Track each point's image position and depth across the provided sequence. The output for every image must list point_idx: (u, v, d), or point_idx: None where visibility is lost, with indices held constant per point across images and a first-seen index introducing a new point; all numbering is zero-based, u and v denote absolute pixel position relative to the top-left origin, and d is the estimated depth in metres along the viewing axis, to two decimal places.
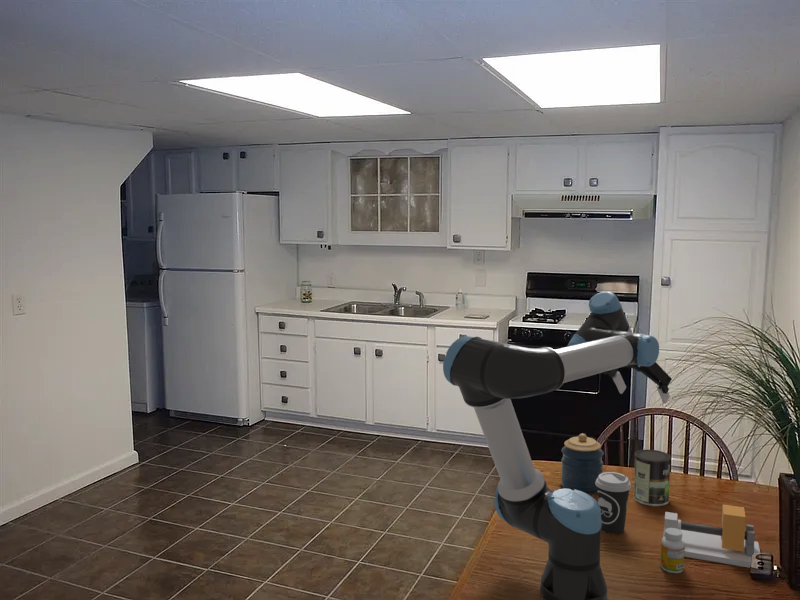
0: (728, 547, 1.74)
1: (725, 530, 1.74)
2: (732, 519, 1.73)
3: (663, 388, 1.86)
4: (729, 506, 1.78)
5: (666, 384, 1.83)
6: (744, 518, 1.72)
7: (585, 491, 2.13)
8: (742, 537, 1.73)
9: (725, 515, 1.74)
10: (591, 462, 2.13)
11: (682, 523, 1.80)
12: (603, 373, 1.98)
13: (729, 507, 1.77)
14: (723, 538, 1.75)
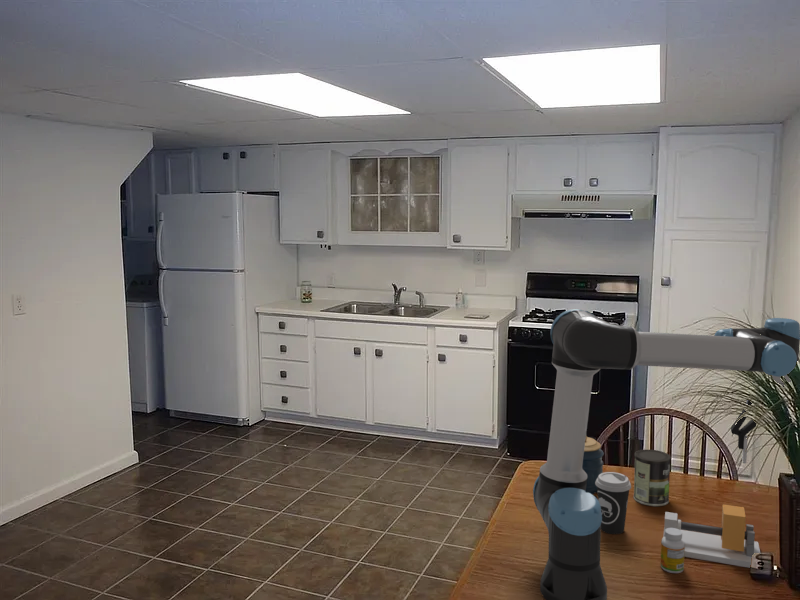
0: (728, 547, 1.74)
1: (725, 530, 1.74)
2: (732, 519, 1.73)
3: None
4: (729, 506, 1.78)
5: None
6: (744, 518, 1.72)
7: None
8: (742, 537, 1.73)
9: (725, 515, 1.74)
10: (591, 462, 2.13)
11: (682, 523, 1.80)
12: (732, 432, 1.72)
13: (729, 507, 1.77)
14: (723, 538, 1.75)
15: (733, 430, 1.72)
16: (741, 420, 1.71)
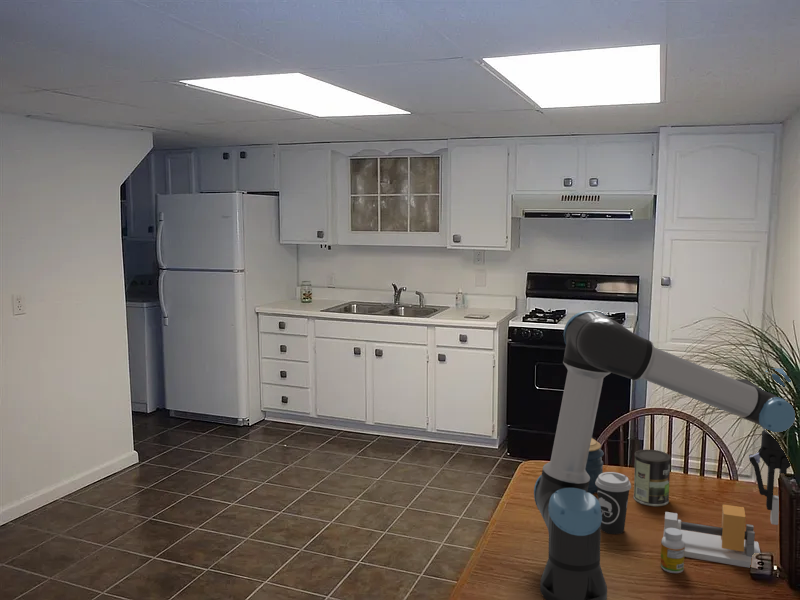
0: (728, 547, 1.74)
1: (725, 530, 1.74)
2: (732, 519, 1.73)
3: None
4: (729, 506, 1.78)
5: None
6: (744, 518, 1.72)
7: None
8: (742, 537, 1.73)
9: (725, 515, 1.74)
10: (591, 462, 2.13)
11: (682, 523, 1.80)
12: (761, 493, 1.71)
13: (729, 507, 1.77)
14: (723, 538, 1.75)
15: (760, 491, 1.71)
16: (759, 479, 1.71)
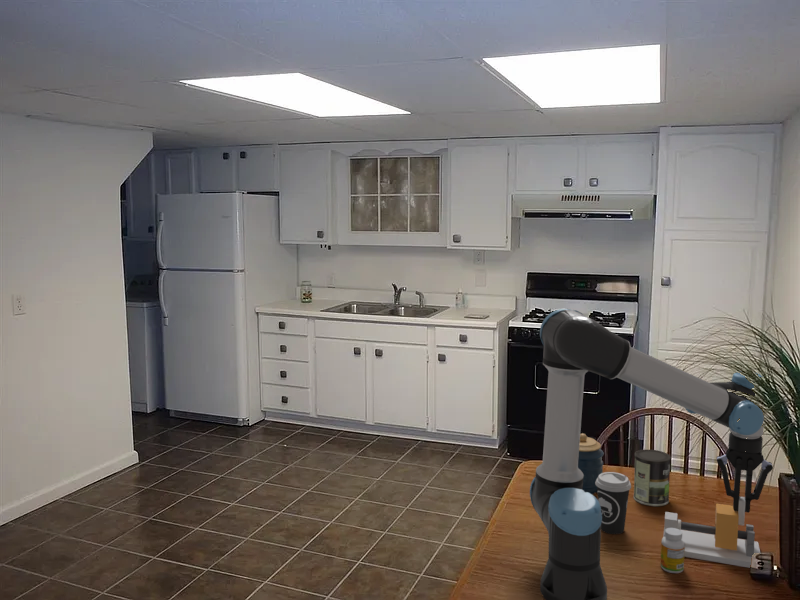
0: (721, 546, 1.75)
1: (718, 529, 1.75)
2: (725, 518, 1.74)
3: (748, 504, 1.73)
4: (722, 505, 1.78)
5: (757, 497, 1.72)
6: (737, 517, 1.73)
7: (585, 491, 2.13)
8: (735, 536, 1.73)
9: (718, 514, 1.74)
10: (591, 462, 2.13)
11: (682, 523, 1.80)
12: (728, 494, 1.74)
13: (723, 506, 1.78)
14: (716, 537, 1.75)
15: (727, 493, 1.74)
16: (726, 480, 1.74)
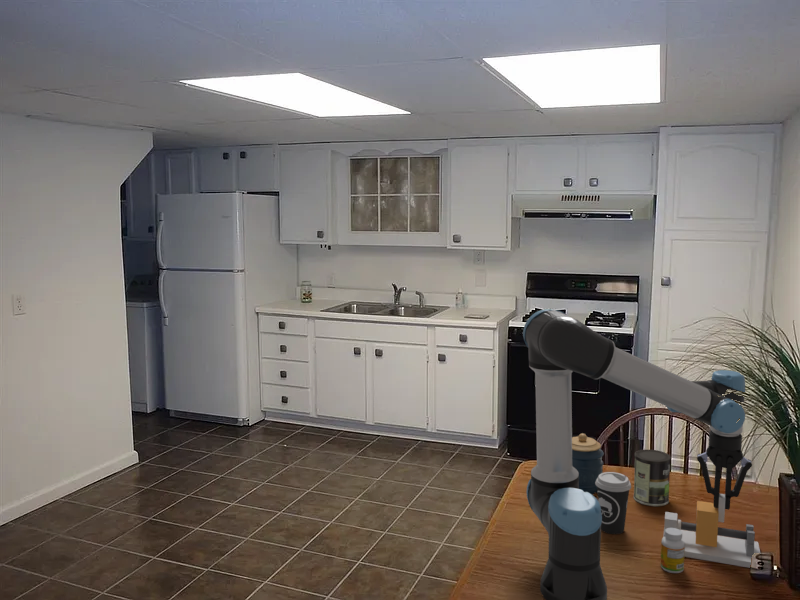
0: (702, 543, 1.77)
1: (698, 526, 1.76)
2: (705, 515, 1.75)
3: (728, 501, 1.75)
4: (703, 502, 1.80)
5: (737, 495, 1.73)
6: (717, 514, 1.74)
7: (585, 491, 2.13)
8: (715, 533, 1.75)
9: (699, 511, 1.76)
10: (591, 462, 2.13)
11: (682, 523, 1.80)
12: (708, 492, 1.76)
13: (703, 503, 1.80)
14: (697, 534, 1.77)
15: (707, 490, 1.76)
16: (706, 478, 1.76)
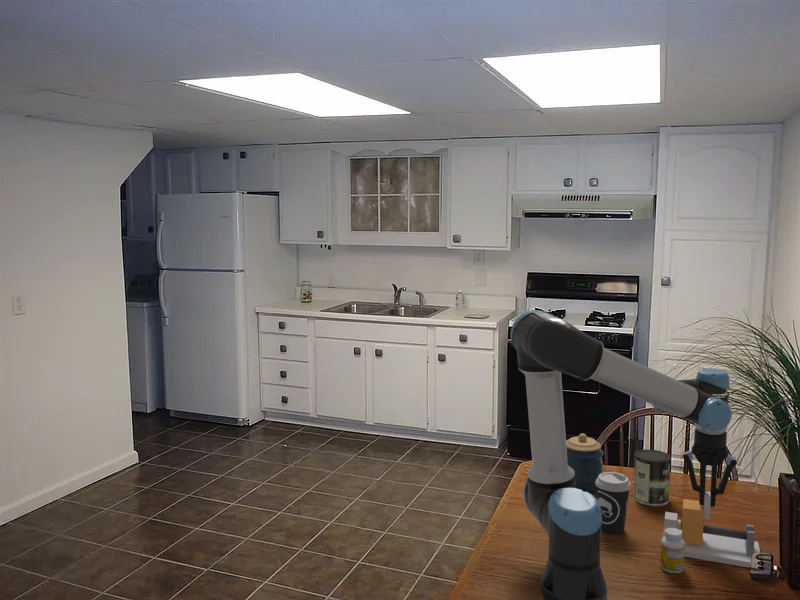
0: (687, 540, 1.78)
1: (684, 524, 1.78)
2: (691, 513, 1.77)
3: (713, 499, 1.76)
4: (689, 500, 1.82)
5: (722, 492, 1.75)
6: (703, 512, 1.76)
7: (585, 491, 2.13)
8: (701, 531, 1.76)
9: (684, 509, 1.77)
10: (591, 462, 2.13)
11: None
12: (694, 489, 1.77)
13: (689, 501, 1.81)
14: (683, 532, 1.78)
15: (693, 487, 1.77)
16: (692, 475, 1.77)
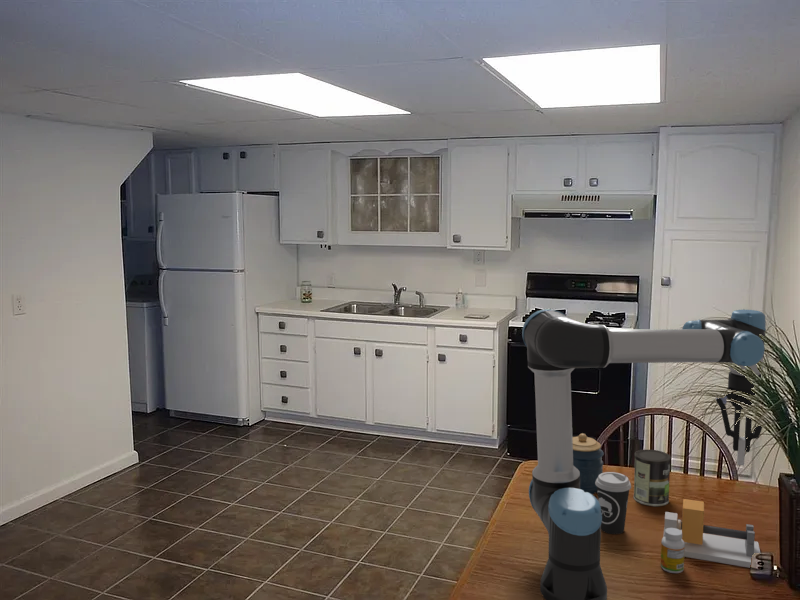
0: (687, 540, 1.78)
1: (684, 524, 1.78)
2: (691, 513, 1.77)
3: (748, 444, 1.72)
4: (689, 500, 1.82)
5: (757, 436, 1.70)
6: (702, 512, 1.76)
7: (585, 491, 2.13)
8: (701, 531, 1.76)
9: (684, 509, 1.77)
10: (591, 462, 2.13)
11: None
12: (728, 434, 1.72)
13: (689, 501, 1.81)
14: (683, 532, 1.78)
15: (727, 432, 1.73)
16: (725, 420, 1.72)
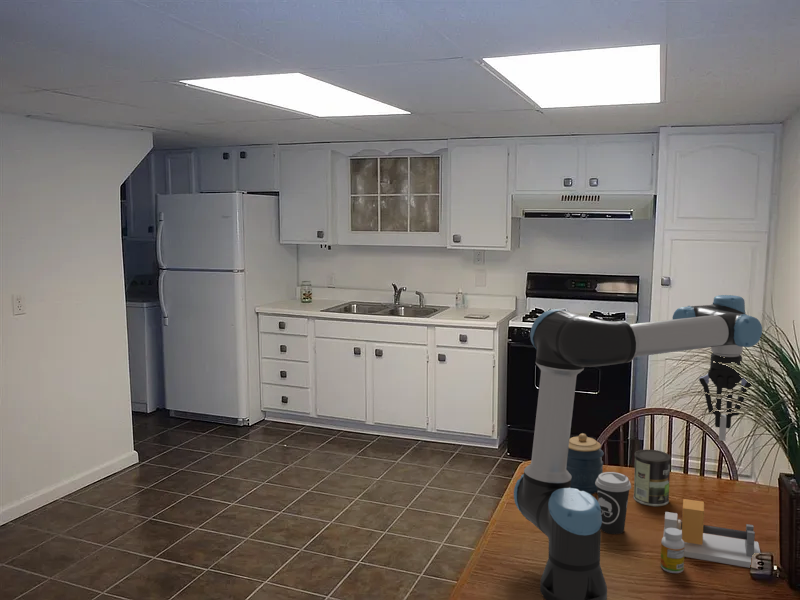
0: (687, 540, 1.78)
1: (684, 524, 1.78)
2: (691, 513, 1.77)
3: (729, 420, 1.83)
4: (689, 500, 1.82)
5: (738, 413, 1.82)
6: (702, 512, 1.76)
7: (585, 491, 2.13)
8: (701, 531, 1.76)
9: (684, 509, 1.77)
10: (591, 462, 2.13)
11: None
12: None
13: (689, 501, 1.81)
14: (683, 532, 1.78)
15: (709, 410, 1.84)
16: (708, 398, 1.84)
